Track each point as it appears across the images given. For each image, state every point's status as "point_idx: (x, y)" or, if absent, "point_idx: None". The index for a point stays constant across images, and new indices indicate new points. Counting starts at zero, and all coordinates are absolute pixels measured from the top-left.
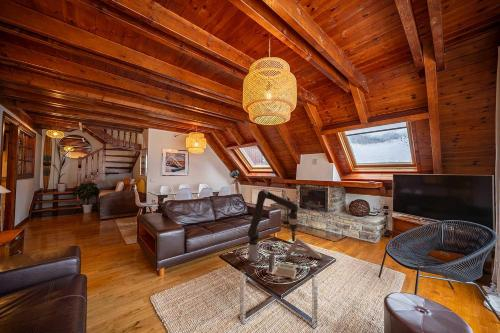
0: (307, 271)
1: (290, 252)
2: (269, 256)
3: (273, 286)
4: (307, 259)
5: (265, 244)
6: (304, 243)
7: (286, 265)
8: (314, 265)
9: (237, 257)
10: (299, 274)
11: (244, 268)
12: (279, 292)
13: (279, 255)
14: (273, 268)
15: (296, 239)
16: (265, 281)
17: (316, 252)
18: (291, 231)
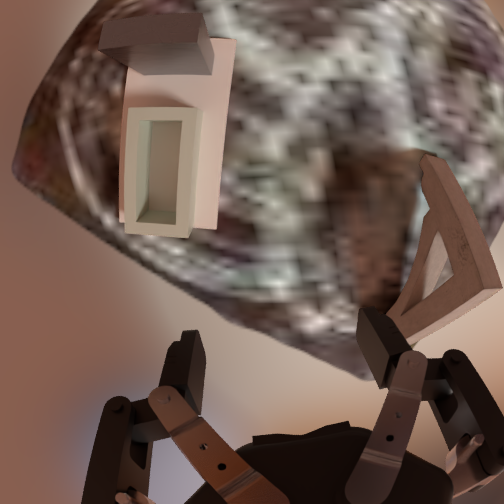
0: (230, 288)
1: (426, 187)
2: (106, 26)
3: (40, 126)
4: (370, 287)
5: (491, 44)
6: (446, 317)
7: (179, 168)
8: (306, 322)
9: None
10: (182, 245)
11: None
12: (17, 166)
13: (400, 106)
14: (182, 73)
15: (488, 267)
16: (65, 72)
17: None
18: (223, 499)
